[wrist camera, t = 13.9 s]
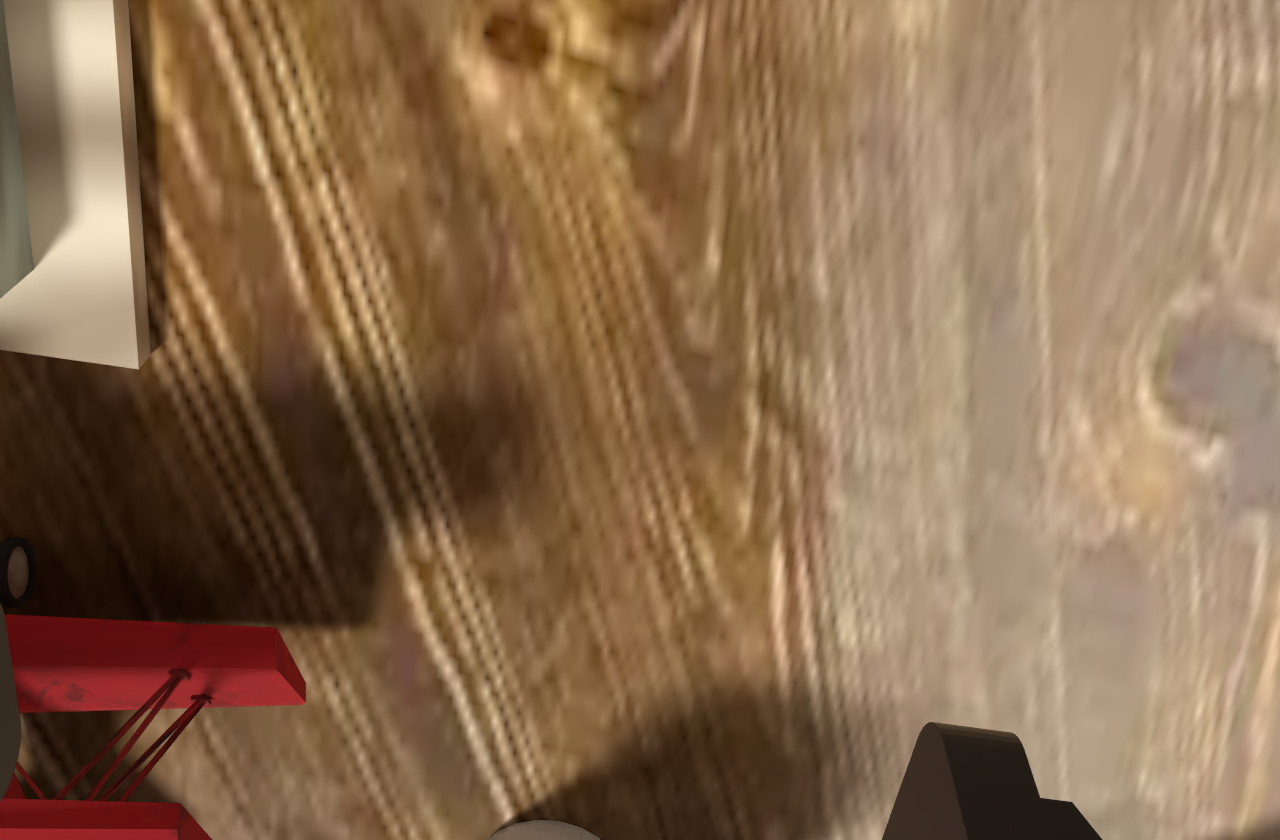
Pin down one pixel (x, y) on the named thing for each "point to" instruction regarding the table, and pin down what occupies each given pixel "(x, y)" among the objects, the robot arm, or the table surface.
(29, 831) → the biplane model
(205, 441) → the table surface
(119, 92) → the can cradle
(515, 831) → the coffee cup
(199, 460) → the table surface
